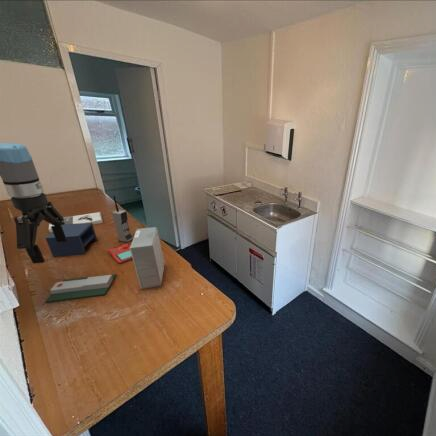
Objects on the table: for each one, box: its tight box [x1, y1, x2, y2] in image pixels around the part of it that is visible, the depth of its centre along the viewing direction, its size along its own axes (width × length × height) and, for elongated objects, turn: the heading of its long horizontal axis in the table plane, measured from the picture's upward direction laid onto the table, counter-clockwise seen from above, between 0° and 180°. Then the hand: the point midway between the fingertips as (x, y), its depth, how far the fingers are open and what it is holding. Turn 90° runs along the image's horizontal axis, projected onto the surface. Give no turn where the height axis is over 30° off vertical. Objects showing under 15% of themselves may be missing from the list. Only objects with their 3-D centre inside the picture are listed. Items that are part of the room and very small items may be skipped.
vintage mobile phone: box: [111, 195, 134, 243], centre depth 119 cm, size 4×5×25 cm
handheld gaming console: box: [107, 242, 133, 265], centre depth 112 cm, size 9×1×15 cm
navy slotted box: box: [45, 223, 98, 258], centre depth 112 cm, size 12×14×10 cm
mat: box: [44, 273, 118, 304], centre depth 91 cm, size 18×12×1 cm, turn 107°
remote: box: [49, 274, 113, 295], centre depth 90 cm, size 18×5×2 cm, turn 107°
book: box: [47, 211, 104, 233], centre depth 136 cm, size 23×14×2 cm, turn 130°
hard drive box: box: [130, 226, 166, 290], centre depth 96 cm, size 16×8×20 cm, turn 22°
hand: (51, 251), depth 82 cm, fingers open, 13 cm apart
